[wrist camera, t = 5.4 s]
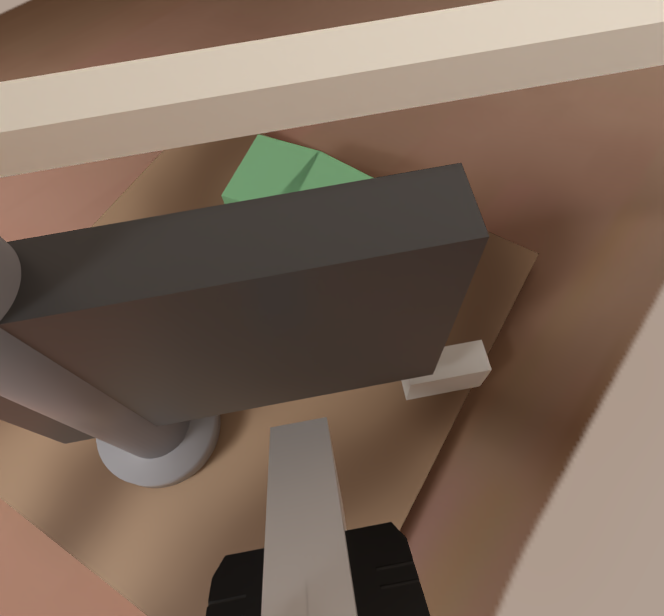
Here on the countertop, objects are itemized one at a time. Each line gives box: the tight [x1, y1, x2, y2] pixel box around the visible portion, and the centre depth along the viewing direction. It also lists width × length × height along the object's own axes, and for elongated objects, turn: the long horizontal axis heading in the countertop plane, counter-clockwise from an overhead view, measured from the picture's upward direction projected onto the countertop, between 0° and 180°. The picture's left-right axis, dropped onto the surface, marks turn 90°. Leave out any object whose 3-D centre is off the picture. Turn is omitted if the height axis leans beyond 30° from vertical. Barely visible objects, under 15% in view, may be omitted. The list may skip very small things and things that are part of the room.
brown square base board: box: [0, 133, 538, 616], centre depth 22 cm, size 19×20×1 cm
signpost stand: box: [0, 0, 664, 488], centre depth 13 cm, size 14×4×15 cm, turn 100°
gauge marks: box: [221, 134, 492, 400], centre depth 21 cm, size 14×5×3 cm, turn 40°
